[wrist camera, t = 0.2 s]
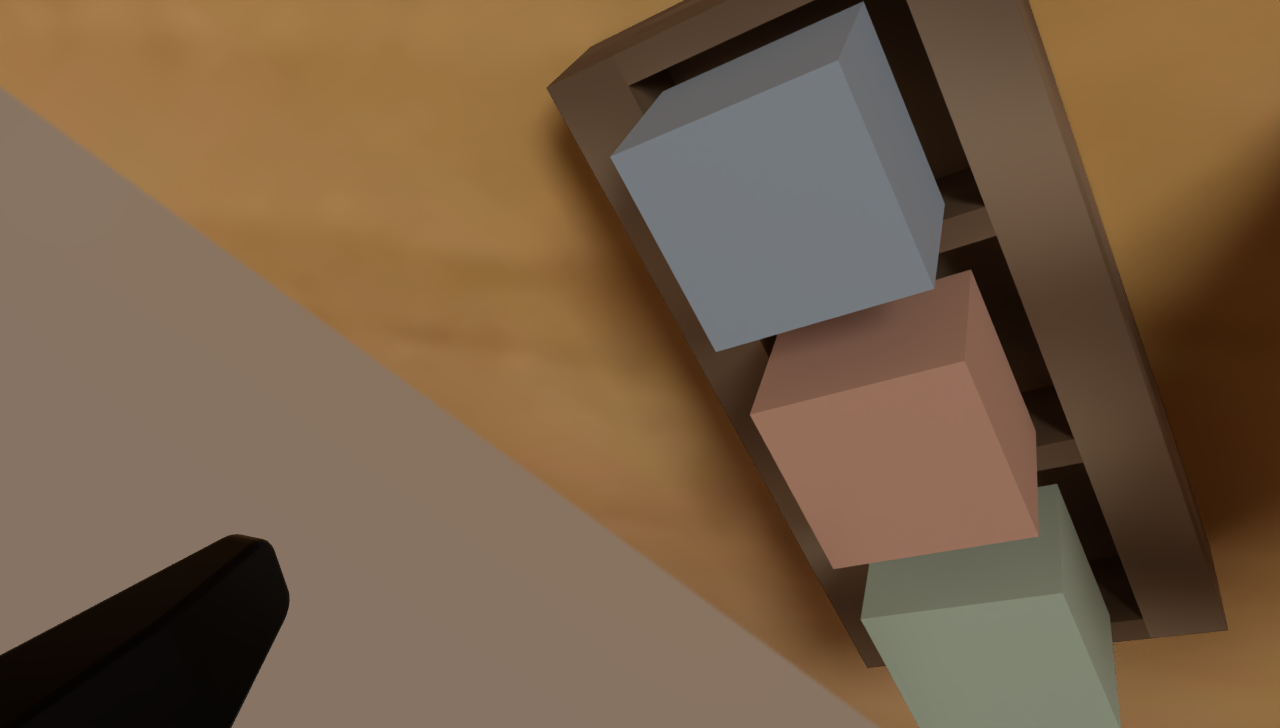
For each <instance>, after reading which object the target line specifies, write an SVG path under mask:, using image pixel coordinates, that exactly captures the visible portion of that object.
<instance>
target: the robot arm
mask: <svg viewBox="0 0 1280 728" xmlns="http://www.w3.org/2000/svg"><path fill="white" fill-rule="evenodd" d="M288 608H289V591H288V589H287V585H286V582H285V579H284V577H283V574H282V571H281V568H280V565H279V562H278V560H277V556H276V554H275V551H274V549H273V547H272V545H271V544H270V543H269V542H268V541H266V540H264V539H259V538H255V537H250V536H245V535H239V534H235V535H229V536H226V537H224V538H222V539H220V540H218V541H216V542H214V543H213V544H211V545H209V546H207V547H205V548H203V549H201V550H199V551H198V552H196V553H194V554H192V555H190V556H188V557H186V558H184V559H183V560H180V561H178V562H177V563H175V564H173V565H171V566H169V567H167V568H165V569H163V570H162V571H159V572H158V573H156V574H154V575H152V576H150V577H148V578H146V579H144V580H142V581H140V582H138V583H137V584H135V585H133V586H131V587H129V588H127V589H125V590H123V591H122V592H120V593H118V594H116V595H114V596H112V597H110V598H108V599H106V600H104V601H103V602H101V603H99V604H97V605H95V606H93V607H91V608H89V609H87V610H85V611H83V612H82V613H80V614H78V615H76V616H74V617H72V618H70V619H68V620H66V621H64V622H63V623H61V624H59V625H57V626H55V627H53V628H51V629H49V630H47V631H45V632H44V633H42V634H40V635H38V636H36V637H34V638H32V639H30V640H29V641H27V642H25V643H23V644H21V645H19V646H17V647H15V648H13V649H11V650H9V651H7V652H6V653H4V654H2V655H0V728H231V727H232V725H233V723H234V721H235V719H236V717H237V715H238V713H239V711H240V708H241V707H242V704H243V703H244V700H245V699H246V697H247V695H248V693H249V690H250V689H251V686H252V684H253V682H254V680H255V678H256V676H257V674H258V672H259V670H260V668H261V666H262V664H263V662H264V660H265V658H266V656H267V654H268V652H269V650H270V648H271V646H272V644H273V642H274V640H275V638H276V636H277V634H278V632H279V630H280V628H281V626H282V624H283V622H284V620H285V617H286V615H287V611H288Z"/></svg>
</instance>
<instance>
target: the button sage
mask: <svg viewBox="0 0 1280 728" xmlns="http://www.w3.org/2000/svg"><path fill="white" fill-rule="evenodd" d="M1037 489H1038V523H1039V537H1033V538H1027V539H1021V540H1014V541H1008V542H1002V543H995V544H989V545H983V546H976V547H970V548H964V549H957V550H951V551H945V552H938V553H932V554H926V555H919V556H913V557H907V558H900V559H894V560H888V561H881V562H875V563H869V569H868V576H867V582H866V588H865V595H864V601H863V607H862V614H861V621H862V623H863V625H864V626H865V628H866V630H867V632H868V634H869V636H870V637H871V639H872V641H873V643H874V645H875V647H876V649H877V650H878V652H879V654H880V656H881V658H882V660H883V661H884V663H885V665H886V667H887V669H888V671H889V673H890V674H891V676H892V678H893V680H894V682H895V684H896V685H897V687H898V689H899V691H900V693H901V695H902V697H903V698H904V700H905V702H906V704H907V706H908V708H909V709H910V711H911V713H912V715H913V717H914V719H915V721H916V722H917V724H918V726H919V728H1121V723H1120V713H1119V703H1118V693H1117V683H1116V673H1115V663H1114V653H1113V643H1112V633H1111V623H1110V615H1109V612H1108V610H1107V607H1106V605H1105V602H1104V600H1103V597H1102V595H1101V592H1100V590H1099V588H1098V585H1097V583H1096V580H1095V578H1094V575H1093V573H1092V570H1091V568H1090V565H1089V563H1088V560H1087V558H1086V555H1085V553H1084V550H1083V548H1082V545H1081V543H1080V540H1079V538H1078V535H1077V533H1076V530H1075V528H1074V525H1073V523H1072V520H1071V518H1070V515H1069V513H1068V510H1067V508H1066V505H1065V503H1064V500H1063V498H1062V495H1061V493H1060V490H1059V488H1058V485H1057V484H1053V485H1047V486H1042V487H1037Z"/></svg>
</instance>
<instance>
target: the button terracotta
mask: <svg viewBox="0 0 1280 728" xmlns="http://www.w3.org/2000/svg"><path fill="white" fill-rule="evenodd" d="M750 416H751V418H752V420H753V422H754V423H755V425H756V427H757V429H758V431H759V433H760V434H761V436H762V438H763V440H764V442H765V444H766V446H767V447H768V449H769V451H770V453H771V455H772V457H773V458H774V460H775V462H776V464H777V466H778V468H779V470H780V471H781V473H782V475H783V477H784V479H785V481H786V482H787V484H788V486H789V488H790V490H791V492H792V494H793V495H794V497H795V499H796V501H797V503H798V505H799V506H800V508H801V510H802V512H803V514H804V516H805V518H806V519H807V521H808V523H809V525H810V527H811V529H812V530H813V532H814V534H815V536H816V538H817V540H818V542H819V543H820V545H821V547H822V549H823V551H824V553H825V554H826V556H827V558H828V560H829V562H830V564H831V566H832V567H833V569H837V568H843V567H850V566H856V565H862V564H869V563H875V562H881V561H888V560H894V559H900V558H907V557H913V556H919V555H926V554H932V553H938V552H945V551H951V550H957V549H964V548H970V547H976V546H983V545H989V544H995V543H1002V542H1008V541H1014V540H1021V539H1027V538H1033V537H1039V523H1038V489H1037V454H1036V430H1035V428H1034V425H1033V423H1032V420H1031V418H1030V415H1029V413H1028V410H1027V408H1026V405H1025V403H1024V400H1023V398H1022V395H1021V393H1020V390H1019V388H1018V385H1017V383H1016V380H1015V378H1014V375H1013V373H1012V370H1011V368H1010V366H1009V363H1008V361H1007V358H1006V356H1005V353H1004V351H1003V348H1002V346H1001V343H1000V341H999V338H998V336H997V333H996V331H995V328H994V326H993V323H992V321H991V318H990V316H989V313H988V311H987V308H986V306H985V303H984V301H983V298H982V296H981V293H980V291H979V288H978V286H977V283H976V281H975V278H974V276H973V273H972V271H971V270H968V271H964V272H961V273H958V274H954V275H951V276H947V277H944V278H941V279H937V280H935V287H934V289H932V290H928V291H925V292H921V293H918V294H915V295H911V296H908V297H904V298H901V299H897V300H894V301H890V302H887V303H884V304H880V305H877V306H873V307H870V308H866V309H863V310H859V311H856V312H852V313H849V314H846V315H842V316H839V317H835V318H832V319H828V320H825V321H821V322H818V323H815V324H811V325H808V326H804V327H801V328H797V329H794V330H790V331H787V332H784V333H780V334H778V335H777V338H776V341H775V344H774V346H773V349H772V352H771V355H770V358H769V361H768V364H767V367H766V369H765V372H764V375H763V378H762V381H761V384H760V387H759V389H758V392H757V395H756V398H755V401H754V404H753V407H752V410H751V412H750Z"/></svg>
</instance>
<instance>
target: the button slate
mask: <svg viewBox="0 0 1280 728" xmlns="http://www.w3.org/2000/svg"><path fill="white" fill-rule="evenodd" d="M610 158H611V159H612V161H613V163H614V165H615V167H616V169H617V171H618V172H619V174H620V176H621V178H622V180H623V182H624V183H625V185H626V187H627V189H628V191H629V193H630V195H631V196H632V198H633V200H634V202H635V204H636V206H637V207H638V209H639V211H640V213H641V215H642V217H643V219H644V220H645V222H646V224H647V226H648V228H649V230H650V231H651V233H652V235H653V237H654V239H655V241H656V243H657V244H658V246H659V248H660V250H661V252H662V254H663V255H664V257H665V259H666V261H667V263H668V265H669V267H670V268H671V270H672V272H673V274H674V276H675V278H676V279H677V281H678V283H679V285H680V287H681V289H682V290H683V292H684V294H685V296H686V298H687V300H688V302H689V303H690V305H691V307H692V309H693V311H694V313H695V314H696V316H697V318H698V320H699V322H700V324H701V326H702V327H703V329H704V331H705V333H706V335H707V337H708V338H709V340H710V342H711V344H712V346H713V348H714V350H715V351H716V352H718V351H721V350H725V349H728V348H732V347H735V346H739V345H742V344H746V343H749V342H752V341H756V340H759V339H763V338H766V337H770V336H773V335H777V334H780V333H784V332H787V331H790V330H794V329H797V328H801V327H804V326H808V325H811V324H815V323H818V322H821V321H825V320H828V319H832V318H835V317H839V316H842V315H846V314H849V313H852V312H856V311H859V310H863V309H866V308H870V307H873V306H877V305H880V304H884V303H887V302H890V301H894V300H897V299H901V298H904V297H908V296H911V295H915V294H918V293H921V292H925V291H928V290H932V289H934V287H935V279H936V271H937V263H938V255H939V247H940V239H941V231H942V223H943V215H944V207H945V203H944V201H943V198H942V196H941V193H940V191H939V188H938V186H937V183H936V181H935V178H934V176H933V173H932V171H931V168H930V166H929V163H928V161H927V158H926V156H925V153H924V151H923V148H922V146H921V143H920V141H919V139H918V136H917V134H916V131H915V129H914V126H913V124H912V121H911V119H910V116H909V114H908V111H907V109H906V106H905V104H904V101H903V99H902V96H901V94H900V91H899V89H898V86H897V84H896V81H895V79H894V76H893V74H892V71H891V69H890V66H889V64H888V61H887V59H886V56H885V54H884V51H883V49H882V46H881V44H880V41H879V39H878V36H877V34H876V31H875V29H874V26H873V24H872V21H871V19H870V16H869V14H868V11H867V9H866V6H865V4H864V1H863V2H861V3H859V4H856V5H854V6H852V7H850V8H847V9H845V10H843V11H841V12H839V13H836V14H834V15H832V16H830V17H827V18H825V19H823V20H821V21H819V22H816V23H814V24H812V25H810V26H807V27H805V28H803V29H801V30H799V31H796V32H794V33H792V34H790V35H787V36H785V37H783V38H781V39H778V40H776V41H774V42H772V43H770V44H767V45H765V46H763V47H761V48H758V49H756V50H754V51H752V52H750V53H747V54H745V55H743V56H741V57H738V58H736V59H734V60H732V61H730V62H727V63H725V64H723V65H721V66H718V67H716V68H714V69H712V70H709V71H707V72H705V73H703V74H701V75H698V76H696V77H694V78H692V79H689V80H687V81H685V82H683V83H681V84H678V85H676V86H674V87H672V88H669V89H667V90H665V91H663V92H662V93H661V94H660V96H659V97H658V98H657V99H656V101H655V102H654V103H653V104H652V106H651V107H650V108H649V109H648V111H647V112H646V113H645V114H644V115H643V117H642V118H641V119H640V120H639V122H638V123H637V124H636V125H635V127H634V128H633V129H632V130H631V132H630V133H629V134H628V135H627V137H626V138H625V139H624V140H623V142H622V143H621V144H620V145H619V146H618V148H617V149H616V150H615V151H614V153H613V154H612V155H611V156H610Z"/></svg>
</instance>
